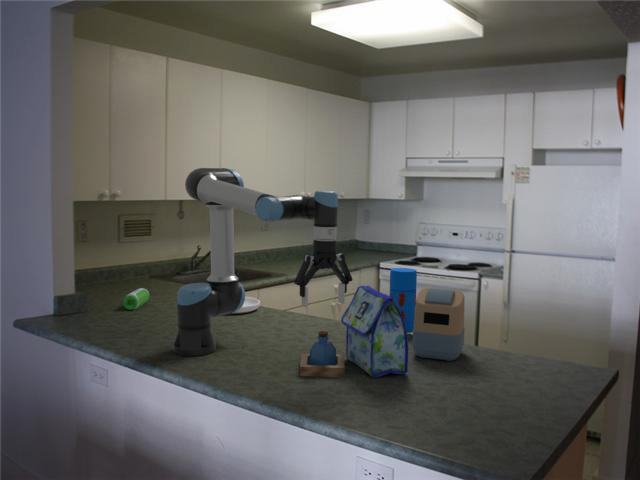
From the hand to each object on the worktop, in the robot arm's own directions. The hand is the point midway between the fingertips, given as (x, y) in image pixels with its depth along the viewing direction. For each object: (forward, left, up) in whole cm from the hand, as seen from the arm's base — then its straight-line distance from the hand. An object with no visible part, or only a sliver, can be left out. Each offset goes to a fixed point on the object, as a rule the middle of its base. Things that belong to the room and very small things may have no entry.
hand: (323, 304), depth 196 cm
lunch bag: (+17, +3, -22) cm, 28 cm away
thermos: (+32, +53, -22) cm, 66 cm away
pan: (-50, +89, -22) cm, 104 cm away
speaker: (-88, +85, -22) cm, 124 cm away
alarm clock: (+41, +19, -22) cm, 50 cm away
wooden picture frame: (0, 0, -21) cm, 21 cm away
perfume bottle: (0, 0, -21) cm, 21 cm away
